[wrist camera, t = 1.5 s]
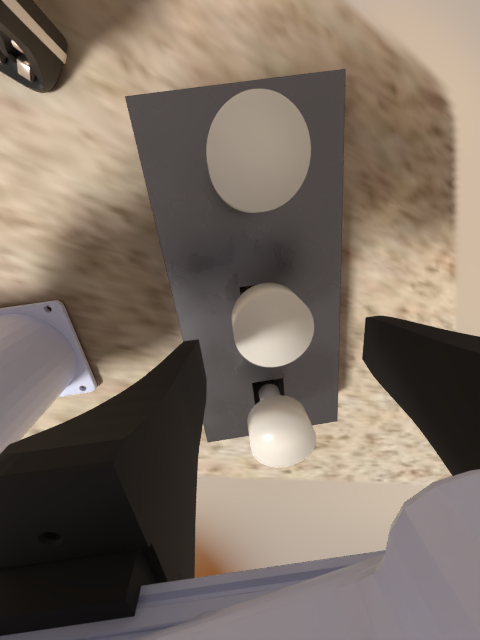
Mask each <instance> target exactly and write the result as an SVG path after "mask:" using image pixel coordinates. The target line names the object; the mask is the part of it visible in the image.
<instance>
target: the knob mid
mask: <svg viewBox="0 0 480 640" xmlns="http://www.w3.org/2000/svg"><path fill="white" fill-rule="evenodd" d="M232 327H233V334H234V340H235V344H236V346H237V349H238V350H239V352H240V353H241V355H242V356H243V357H244V358H245V359H247V360H248V361H250V362H251V363H253V364H256V365H259V366H263V367H278V366H283V365H286V364H288V363H290V362H292V361H294V360H296V359H297V358H298V357H300V356H301V355H302V354H303V353H304V352H305V350H306V349H307V348H308V346H309V345H310V343H311V340H312V337H313V333H314V320H313V316H312V314H311V312H310V310H309V308H308V307H307V306H306V305H305V304H304V303H303V302H302V301H301V300H300V299H299V298H298V297H297V296H296V295H295V294H294V293H293V292H292V291H291V290H290V289H289V288H287V287H285V286H283V285H280V284H277V283H262V284H258V285H255V286H253V287H251V288H249V289H247V290H246V291H245V292H244V293H242V295H241V296H240V297H239V298H238V300H237V301H236V303H235V305H234V307H233V311H232Z"/></svg>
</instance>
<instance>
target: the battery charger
mask: <svg viewBox="0 0 480 640" xmlns="http://www.w3.org/2000/svg"><path fill="white" fill-rule="evenodd" d="M66 49H67V42H66V39H65V38H64V36H63V35H62V34H61V33H60V31H59V30H58V29H57V28H56V27H55V26H54V24H53V23H52V22H51V21H50V20H49V19H48V17H47V16H46V15H45V14H44V13H43V12H42V11H41V9H40V8H39V7H38V6H37V5H36V4H35V2H34V1H33V0H0V71H1V72H2V73H4V74H6V75H7V76H9V77H11V78H12V79H14V80H16V81H17V82H19V83H21V84H22V85H24V86H26V87H28V88H30V89H32V90H34V91H36V92H40V93H45V92H48V91H49V90H51V89H52V88H53V86H54V85H55V84H56V81H57V79H58V78H59V76H60V73H61V69H62V65H63V64H65V62H66V58H67V55H66V54H65V53H66Z"/></svg>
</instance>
